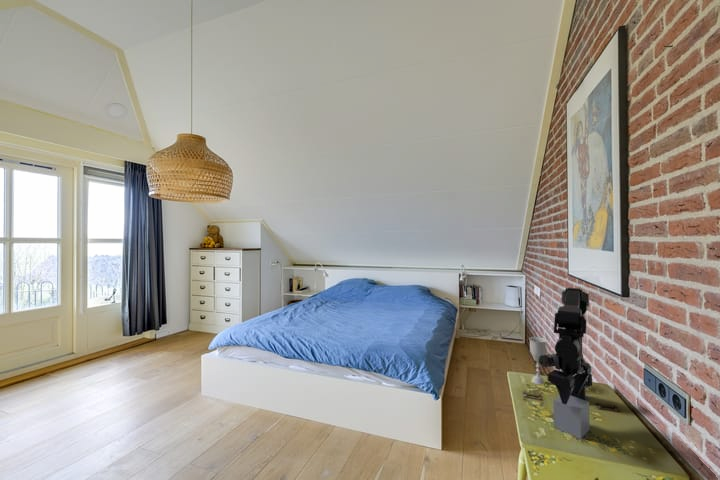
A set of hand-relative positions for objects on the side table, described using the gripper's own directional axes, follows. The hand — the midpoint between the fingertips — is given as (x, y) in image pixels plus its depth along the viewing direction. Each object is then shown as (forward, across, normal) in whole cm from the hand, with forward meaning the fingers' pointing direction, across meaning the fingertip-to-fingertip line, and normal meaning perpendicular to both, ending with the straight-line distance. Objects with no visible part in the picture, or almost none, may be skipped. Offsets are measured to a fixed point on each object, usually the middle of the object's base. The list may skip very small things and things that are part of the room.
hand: (570, 399), depth 99 cm
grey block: (+9, 0, 0) cm, 9 cm away
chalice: (+9, -26, -21) cm, 35 cm away
